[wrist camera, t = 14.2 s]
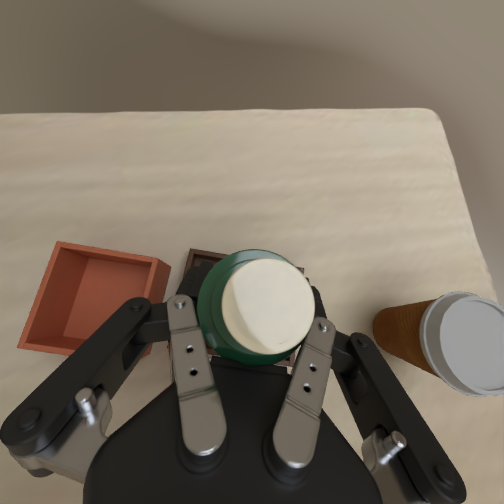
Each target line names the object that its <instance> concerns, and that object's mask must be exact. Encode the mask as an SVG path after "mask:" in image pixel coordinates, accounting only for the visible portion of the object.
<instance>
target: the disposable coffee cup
mask: <svg viewBox="0 0 504 504" xmlns="http://www.w3.org/2000/svg"><path fill="white" fill-rule="evenodd" d="M373 333H374V337H375V339H376V341H377V343H378V344H379V346H380V347H381V348H382V349H383V350H385V351H386V352H388V353H390V354H393V355H395V356H396V357H399V358H401V359H403V360H405V361H406V362H409V363H411V364H413V365H415V366H417V367H419V368H421V369H423V370H425V371H427V372H429V373H431V374H433V375H435V376H437V377H439V378H441V379H442V380H443V381H444V382H445V383H446V384H448V385H449V386H451V387H452V388H453V389H455V390H457V391H459V392H461V393H463V394H466V395H470V396H475V397H486V396H499V395H504V308H503V307H502V306H501V305H499V304H497V303H496V302H494V301H492V300H490V299H487V298H484V297H480V296H478V295H475V294H472V293H469V292H451V293H448V294H446V295H443V296H441V297H439V298H438V299H434V300H429V301H423V302H418V303H413V304H407V305H402V306H397V307H391V308H386V309H384V310H382V311H380V312H379V313H378V314H377V316H376V318H375V320H374V323H373Z"/></svg>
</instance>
